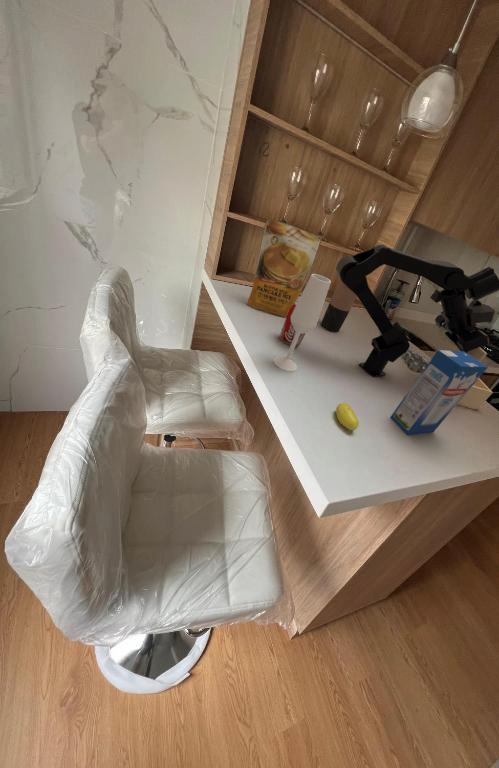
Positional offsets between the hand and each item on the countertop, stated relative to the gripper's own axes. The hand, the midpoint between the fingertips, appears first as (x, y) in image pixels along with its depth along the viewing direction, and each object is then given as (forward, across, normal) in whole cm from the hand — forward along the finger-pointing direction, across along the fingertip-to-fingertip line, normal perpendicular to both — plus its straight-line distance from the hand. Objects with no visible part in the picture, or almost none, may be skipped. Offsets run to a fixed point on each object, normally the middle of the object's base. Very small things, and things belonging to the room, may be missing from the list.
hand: (465, 352), depth 96 cm
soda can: (-25, +3, +45) cm, 51 cm away
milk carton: (-3, -24, +23) cm, 33 cm away
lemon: (-17, -30, +37) cm, 51 cm away
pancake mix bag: (-30, +24, +50) cm, 63 cm away
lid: (+2, 0, 0) cm, 2 cm away
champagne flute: (-27, -12, +46) cm, 54 cm away
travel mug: (-14, +25, +33) cm, 43 cm away
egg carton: (+8, +14, +12) cm, 20 cm away
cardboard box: (+14, 0, +6) cm, 15 cm away
